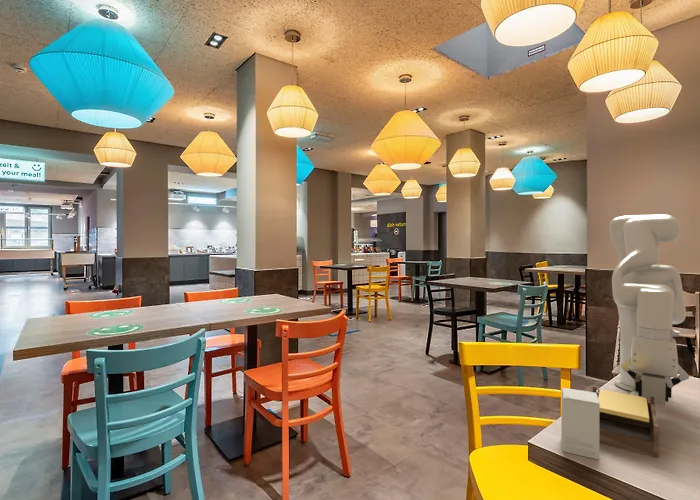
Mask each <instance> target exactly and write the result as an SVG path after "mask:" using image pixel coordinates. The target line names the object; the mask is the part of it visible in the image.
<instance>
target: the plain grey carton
mask: <svg viewBox="0 0 700 500" xmlns="http://www.w3.org/2000/svg"><path fill="white" fill-rule="evenodd" d="M641 380H642V396H641V397H644V398H648V402H649V403H650V396H652V397H654V404H657V405H662V406H666V401H665V394H666V379H665V377H664V376H659V375H653V374H647V373H643V374H642V377H641Z"/></svg>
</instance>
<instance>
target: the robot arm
mask: <svg viewBox="0 0 700 500" xmlns="http://www.w3.org/2000/svg"><path fill="white" fill-rule="evenodd" d="M608 227H609V228H608V231H609V237H610V241H611V243H612V246H613V248H614V249H615V251H616V253H617V256H618V264H617V265H616V266H615V268H614V269H613V272H612V275H611V285H612V286H611V287H612V289H611V290H612V291H611V292H612V297H613V301H614V303H615V304H616V307H617V312H618V319H619V332H620V334H619V335H620V336H619V337H620V338H619V340H620V341H619V346H620V347H619V353H620V354H619V377H617V378H615V379H614V385H615V386H616V387H619V388H621V389H623V390H625V391H629V392H632V390H633V388H634V387H635V391H636V392H638V395H639V396H642V380H641V377H642V374H643V373H647V374H653V375H659V376H664V377H665V379H666V394H665V403H668V402H669V399H672V390H673V389H672V388H673V387H675V386H677V385H678V384H680V383H681V382H684V381H686V380H689V378H690V376H689V374H688V373H687V372H686V371H685V370H684V369H683V368H682V366H680V364H679V358H678V357H679V356H678V348H677V347H678V346H677V343H676V342H677V341H676V339H675V338H674V337H680V331H677V330H675V329H674V328H673V325H680V324H682V323H683V322H684V321H685V320H686V316H687V308H686V302H685V295H684V290H683V283H682V279H681V275H680V271H679V270H678V269H677V267H675V266H673V265H670V264H657V263H658V262H659V261H660V260H661V258H662V256H661V255H662V254H661V249H660V246H659V243H660V244H661V243H676V242H677V241H678V240H679V239H680V238H681V235H682V227H681V223H680V222H679V220H678V219H677V218H676V217H675V216H672V215H670V214H665V213H661V214H660V213H659V214H630V215H622V216H618V217H617V216H616V217H615V218H613V219H611V221H610V223H609V226H608Z"/></svg>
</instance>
